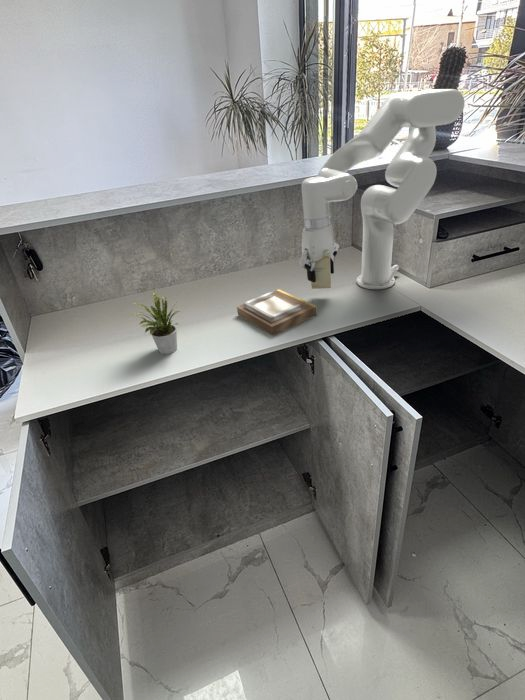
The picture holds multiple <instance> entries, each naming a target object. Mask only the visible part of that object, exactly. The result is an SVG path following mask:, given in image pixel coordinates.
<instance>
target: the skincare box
mask: <svg viewBox="0 0 525 700" xmlns="http://www.w3.org/2000/svg"><path fill="white" fill-rule="evenodd" d="M310 260H311V259H310ZM309 266H311V262H310V265H309ZM313 270H315V275H316V282H311V281H310V282H311V285H310V286H311V289H330V288H331V286H332V277H331V276H332V274H331V268H330V250H327V251H325V252H323V255H322V259H321V260H319V261H316V262H315V266H314V269H313Z"/></svg>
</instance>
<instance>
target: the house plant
mask: <svg viewBox="0 0 525 700" xmlns="http://www.w3.org/2000/svg"><path fill="white" fill-rule="evenodd" d="M152 294H153V302H154V306H153V305H150V308H151V310H150V309H149V307H147V306H146V305H144V304H141V303H137V302H133V304H135V305H138V306H140V307H142V309H144V310H145V311H146V312H148V313H147V314H148V315H147V314H146V313H145V312H143V316H145V317H142V316H139V315H140V314H142V312H135V313H132V314H131V316H133V315H136V317H138V318H140V319H142V320H141V321H140V322H139V325H140V327H141V329H143V328H145V331H144V333H147V332H148V331H149V335H150V336H152V337H151V338H152V340H153V341H154V343H155V346H156V348H157V349H158V352H159V353H160V354H162V355H170V354H173V353H174V352H176V351H177V350H178V336H177V335H178V334H177V333H178V332H177V331H178V330H177V327H176V325H177V326H180V325H179V323H178V322H176V323H174V324H172V323H173V320H171V319H172V318H173V317H174V316H175V315H176V314H177V313H178V312H181V311H180V310H176V309H177V307H175V305H176V304H177V302H175V303H174V305H173V307H172V308H171V310H170V311H169V313H168V299H167V297H166V296H165V298H164V296H163V295H161V294H159V295H158V296H157V294H156V292H155V291H153V293H152ZM160 296H161V298H160ZM161 307H162V309H161ZM174 307H175V308H174ZM173 310H176V311H174V312H173ZM172 312H173V313H172ZM150 317H151V318H153V319H154V320H155V321H154V320H153V319H151V318H150ZM141 324H142V325H141Z"/></svg>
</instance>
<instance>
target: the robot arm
mask: <svg viewBox="0 0 525 700" xmlns="http://www.w3.org/2000/svg"><path fill="white" fill-rule="evenodd" d="M465 102H466V101H465V98H464V95H463V93H462V92H461V91H459V90H458V89H455V88H432V89H431V88H430V89H423V90H420V91H401V92H395V93H392V94H391V95H389V96H388V97H387V98H386V99H385V100H384V101H383V103H382V104H381V105H380V107H379V108H378V109H377V110H376V112H375V113H374V114H373V116H371V118H370V120H369V121H367V123H366V124H365V126H364V127H363V129H361V131H360V132H359V133H358V134H357V135H356V136H354V137H353V138H351V139H349V141H347V142H346V143H344V145H342V146H341V147H339V148H337V149H336V151H335V152H333V153H332V155H330V156H329V157H328V159H327V160H326V162H325V163H324V164H323V166H321V168H320V169H319V171H318V173H317V175H316V176H312V177H307V178H305V179H304V180H302V182H301V197H302V198H301V199H302V209H303V219H304V220H303V223H304V227H303V229H302V234H301V257H300V258H299V259H298V264H299V265H300V266H301V267H302V268H304V270H306V275H307V278H306V279H307V281H309V282H316V275H315V270H313V269H314V266H315V262H316V261H319V260H321V259H322V255H323V252H325V251H327V250H330V268H331V275H332V274H334V273H335V269H334V267H335V266H334V265H335V264H334V262H335V260H336V256H337V254H338V251H339V248H340V244H338V243H337V242H336V241H335V235H334V230H333V225H332V223H331V218H332V213H331V212H330V203H332V202H333V203H334V202H342V201H347V200H349V199H351V198H352V197H353V196H354V195H355V194H356V192H357V190H358V182H357V180H356V178H355V177H354V175H352V174H350V173H348V171H350V170H351V169H352V168H353V167H355V166H357V165H359V164H361V163H363V162H365V161H368V160H372V159H374V158H377V157H379V156H380V155H382V154H383V153H384V151H385V150H386V149H387V148H388V146H389V145H390V144H391V142H392V141H393V140H394V138H395V137H396V136H397V135H398V134H399V132H400V131H401V130H402V129H403V128H409V133H408V136H407V137H406V139H405V141H404V142H403V144H402V145H401V147H400V148H399V149H398V151H397V152H396V154H395V155H394V157H393V158H392V159H391V160H390V163H389V164H388V165H387V167H386V170H385V173H384V176H385V177H384V178H385V180H386V182H387V183H388V184H389V185H391V186H393V187H391V186H386V185H382V184H375V185H370V186H369V187H367V188H366V189H365V190H364V191H363V194H362V196H361V198H360V199H361V200H360V210H361V211H360V212H361V215H362V216H361V217H362V246H361V247H362V248H361V250H362V251H361V274H359V276H357V277H356V283H357V285H358V286H360V287H361V288H363V289H368V290H384V289H388V288H390V287H393V286H394V284H395V281H396V279H395V276H393V273H394V272H396V271H399V269H400V266H399V265H398V264H394V265H392V259H393V257H392V256H393V245H394V244H393V243H394V225H401V224H402V223H404V222H406V221H407V220H408V219H409V218H410V217H411V216H412V215H413V213H415V211H416V209H417V208H418V207H419V205H420V204H421V203H422V202H423V200H424V199H425V197H426V196H427V194H428V193H429V192H430V190H431V189H432V188H433V185H434V184H435V181H436V178H437V166H436V163H435V162H434V160H433V159H431V158H430V155H431V154H432V152H433V151H434V149H435V146H436V143H437V132H436V131H437V130H436V127H437V126H445V125H449V124H452V123H454V122H455V121H457V119H459V117H460V116H461V115H462V113H463V112H464V108H465ZM394 187H396V188H394ZM310 259H311V260H310ZM310 262H311V266H310Z"/></svg>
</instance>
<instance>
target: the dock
mask: <svg viewBox="0 0 525 700" xmlns="http://www.w3.org/2000/svg"><path fill="white" fill-rule="evenodd" d="M317 309H318V308H317V305H315V304H312V303H311V302H308V301H306V300H304V299H302V298H301V297H298V296H296V295H293V294H291V293H289V292H287V291H284V290H282V289H280V288H278V289H276V290H274V291H270V292H267V293H265V294H262V295H260V296H258V297H254V298H252V299H250V300H247V301H244V302H243V303H242V304H240V305H238V306H236V310H237V311H236V312H237V316H239V317H240V318H242V319H243V320H245V321H247V322H248V323H250V324H252V325H254V326H256V327H257V328H259V329H261V330H262V331H264V332H266V333H267V334H269V335H271V336H273V337H274V336H275V335H277V334H280V333H282V332H284V331H286V330H289V329H291V328H293V327H295V326H297V325H300V324H302V323H303V322H305V321H307V320H311V319H312V318H314V317H316V316H318V315H317V314H318V313H317Z"/></svg>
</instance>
